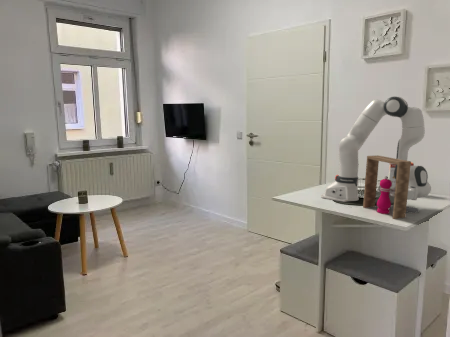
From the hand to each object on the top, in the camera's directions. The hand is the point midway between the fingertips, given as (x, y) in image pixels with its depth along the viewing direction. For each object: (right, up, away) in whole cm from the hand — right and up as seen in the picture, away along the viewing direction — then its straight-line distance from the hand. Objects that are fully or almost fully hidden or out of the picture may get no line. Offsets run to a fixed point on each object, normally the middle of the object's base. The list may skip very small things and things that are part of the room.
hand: (384, 192), depth 199 cm
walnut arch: (0, -11, +2) cm, 11 cm away
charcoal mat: (+16, -10, +8) cm, 20 cm away
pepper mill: (0, -11, +2) cm, 11 cm away
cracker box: (+31, -3, +49) cm, 58 cm away
